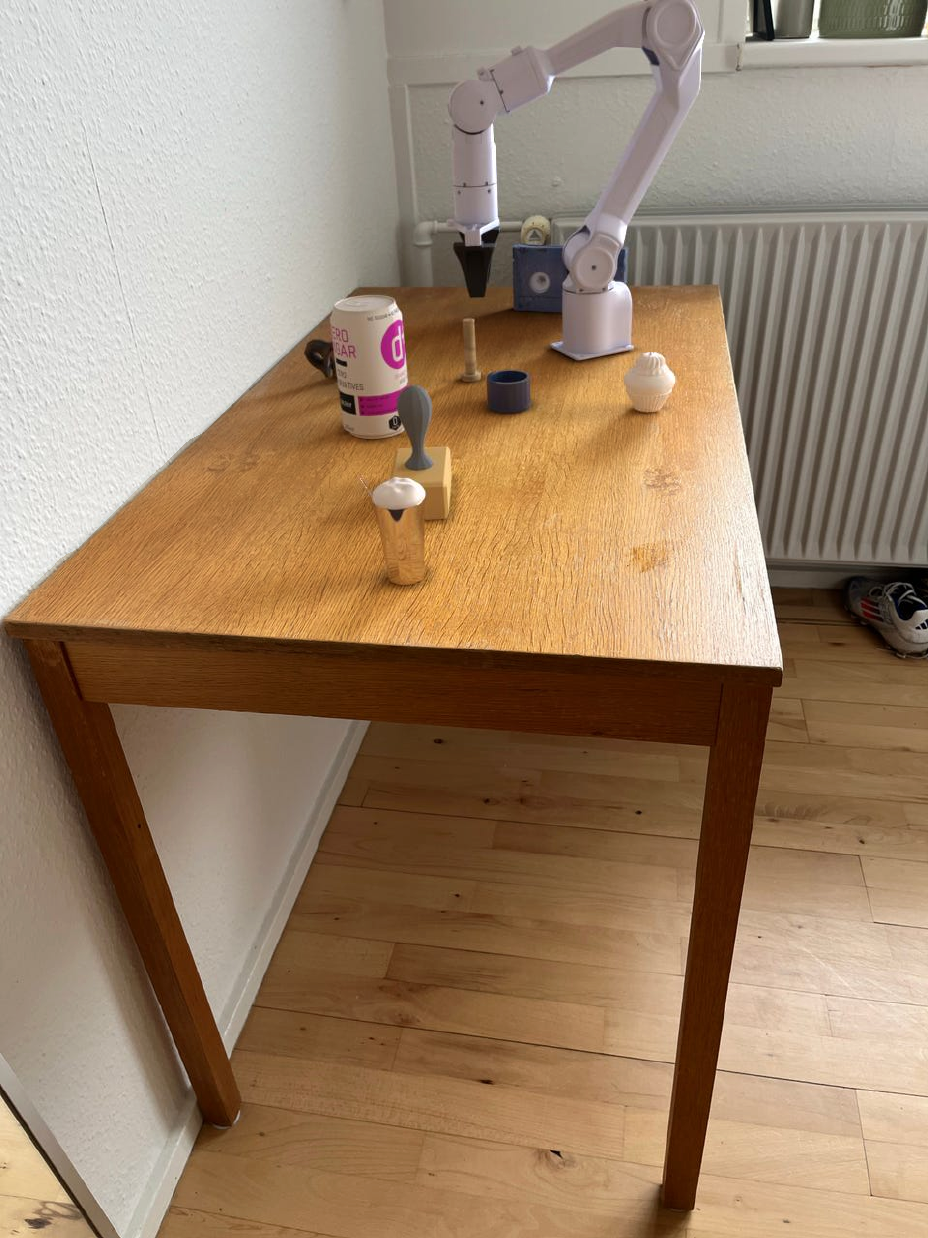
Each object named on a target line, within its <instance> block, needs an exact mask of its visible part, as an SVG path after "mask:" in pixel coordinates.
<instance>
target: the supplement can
mask: <svg viewBox="0 0 928 1238" xmlns="http://www.w3.org/2000/svg"><path fill="white" fill-rule="evenodd" d="M329 324H330V331H331V340H332V342H333V348H334V356H335V364H336V372H337V376H336V379H337V387H338V394H339V395H338V396H339V402H340V410H341V420H342V425H343V428H344V430H346V431H347V432H349V434H350V435H351V436H353V437H356V438H359V439H364V440H378V439H386V438H390V437H395V436H397V435H399V434H401V433H403V432H404V431H405V429H404V427H403V425H402V423H401V420H400V418H399V415H398V411H397V399H398V396H399V394H400V393H401V391H402V390H403V389H404V388H405V387H408V386H409V379H408V366H407V356H406V344H405V343H406V342H405V333H404V322H403V313H402V311H401V310H400V308H399V306H398V305H397V303H396V300H395V298H394V297H391V296H388V295H381V294H364V295H363V294H362V295H356V296H355V295H354V296H350V297H344V298H341V299H340V300H338V301H335V302H334V304H333V310H332V312H331V315H330V318H329Z"/></svg>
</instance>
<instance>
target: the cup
mask: <svg viewBox="0 0 928 1238" xmlns="http://www.w3.org/2000/svg"><path fill="white" fill-rule="evenodd" d="M485 380H486V403H487V409H488V410H489V411H491V412H493V413H497V414H504V415H505V414H506V415H510V414H518V413H522V412H525V411H528V410H529V409H530V408H531V404H532V403H531V402H532V399H531V398H532V395H531V392H532V391H531V375H530V373H529V372H527V371H524V370H519V369H501V370H496V371H493V372H490V373H489V374H487V376H486V379H485Z"/></svg>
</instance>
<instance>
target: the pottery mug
mask: <svg viewBox="0 0 928 1238" xmlns="http://www.w3.org/2000/svg"><path fill="white" fill-rule="evenodd" d="M303 354H304V355H305V358H306V360H307V361H308V362H309V363H310V365H311V366H312V367H314V369H316V370H318V371H320V372H321V374H322V375H323V376H324V377H325V379H329V378H330V375H331V373H332V377H334V378H337V372H336V364H335V356H334V348H333V341H328V340H325V339H322V338H314V339H311V340H309V341H308V342H307V343H306V345H305V348H304V351H303ZM320 356H321V357H320Z"/></svg>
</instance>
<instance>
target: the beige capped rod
mask: <svg viewBox="0 0 928 1238" xmlns="http://www.w3.org/2000/svg"><path fill="white" fill-rule="evenodd" d="M462 330H463V331H462V333H463V350H464V370H465V371H463V372H462V373H461V380H462V381H463V382H466V383H475V382H479V381H480V380H481V379H482V374H481V373H482V372H481V371H479V370H477V353H476V352H477V351H476V349H477V348H476V331H475V319H474V318H472V317H468V318H463V319H462Z"/></svg>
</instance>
